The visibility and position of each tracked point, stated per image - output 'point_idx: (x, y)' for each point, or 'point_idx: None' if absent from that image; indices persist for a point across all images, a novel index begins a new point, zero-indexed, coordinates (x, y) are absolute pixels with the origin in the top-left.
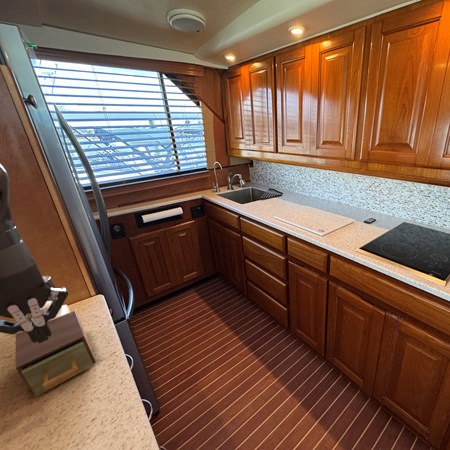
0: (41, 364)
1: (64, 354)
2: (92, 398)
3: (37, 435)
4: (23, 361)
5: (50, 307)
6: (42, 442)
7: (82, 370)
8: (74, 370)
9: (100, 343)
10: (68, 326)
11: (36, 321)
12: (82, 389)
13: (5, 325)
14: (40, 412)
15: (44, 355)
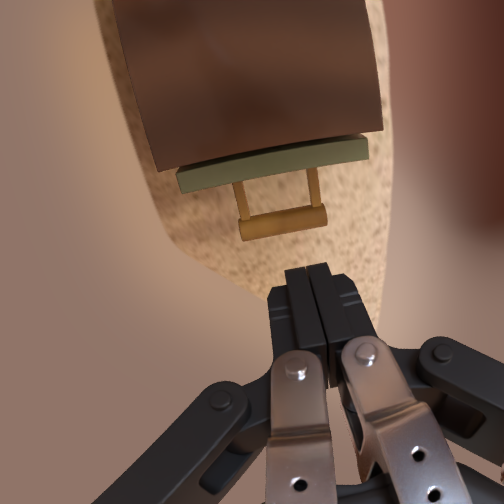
0: (235, 181)
1: (305, 167)
2: (319, 236)
3: (223, 261)
4: (173, 146)
5: (461, 399)
6: (235, 281)
7: None
8: (319, 226)
9: None
10: None
11: (353, 429)
12: (300, 192)
13: (222, 493)
14: (215, 203)
15: (243, 151)
